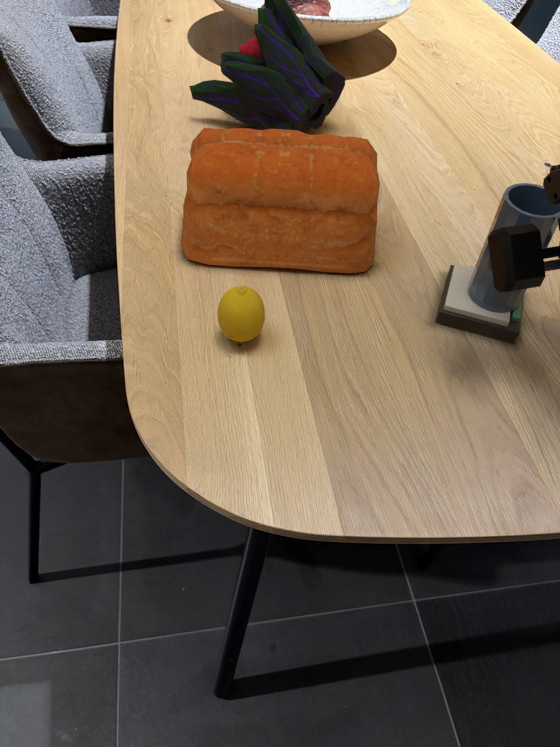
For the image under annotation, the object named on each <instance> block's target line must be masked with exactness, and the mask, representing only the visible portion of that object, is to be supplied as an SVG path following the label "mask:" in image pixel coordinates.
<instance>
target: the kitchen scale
mask: <svg viewBox="0 0 560 747" xmlns="http://www.w3.org/2000/svg"><path fill="white" fill-rule="evenodd" d="M474 269H475V267H473V266H469V265H465V264H461V263H457V262H454V264H450V267H449V268H448V272H447V275H446V279H445V283H444V286H443V290H442V295H441V299H440V302H439V306H438V310H437V314H436V319H435V323H436V324H439V325H443V326H446V327H449V328H454V329H457V330H461V331H465V332H468V333H470V334H471V333H472V334H476V335H479V336H483V337H487V338H490V339H493V340H497V341H501V342H504V343H508V344H511V345H515V344H516V341H517V340H518V338H519V336H520V333H521V324H522V316H523V308H524V298H525V295H524V296H523V298H522V300H521V302H520V304H519V306H518V307H517V308H516V309H514V310H512V311H510V312H504V313H498V312H492V311H488V310H486V309H483V308H481V307H480V306H478V305H477V304H475V303H474V302H473V301H472V300H471V298H470V297H469V295H468V285H469V281H470V279H471V276H472V274H473V271H474Z"/></svg>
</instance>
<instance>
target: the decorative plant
mask: <svg viewBox="0 0 560 747" xmlns="http://www.w3.org/2000/svg"><path fill="white" fill-rule="evenodd" d="M263 1H264V7H257V23H254V25H253V31H254V32H252V35H255V37H252V38H251V39H249V40H248V41H247V43H243V44H241V45H240V46H239V47H238V48H239V51H231V50H230V51H229V50H227V51H223V52H221V53H220V59H221V60H220V63H219V65H220V72H221V74H222V75H223V76H224V77H226V78H227V79H228V80H229V81H227V80H220V79H208V80H203V81H200V82H198V83H196V84H192V85H189V86H188V87H189V91H190V94H191V98H192V100H194V101H199V102H203V103H206V104H208V105H209V106H212V107H213V108H217V109H218V110H220V111H221V112H224V113H225V114H227V115H229V116H231V118H233V119H235V120H237V121H239V122H241V123H243V124H245V125H247V126H249V127H252V128H253V129H256V130H266V129H284V130H298V131H301V132H303V133H306V134H307V132H308V131H309V130H310V129H312V130H318V129H319V128H321V127H322V126H323V124H324V122H325V119H326V118H327V117H328V116H329V114H331V112H332V111H333V109H334V108H335V106H336V104H337V103H338V101H339V100H340V98H341V95H342V93H343V90H344V89H345V86H346V76H344V75H343V74H342V73H341V72H340V71H338V70H337V69H336V68H335V67H334V66H333V65H332V64H331V63H330V62H328V60H327V58H326V57H325V56H324V54H323V52H322V50H321V49H320V48H319V45H318V44H317V43H316V41H315V39H314V38H313V36H312V35H311V33H310V32H309V31H308V29H307V28H306V26H305V25H304V23H303V22H302V20H300V19H301V18H299V16H298V15H297V13H296V12H295V10H294V9H293V7H292V6H291V5H290V3H289V2H288V1H287V0H263Z"/></svg>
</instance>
